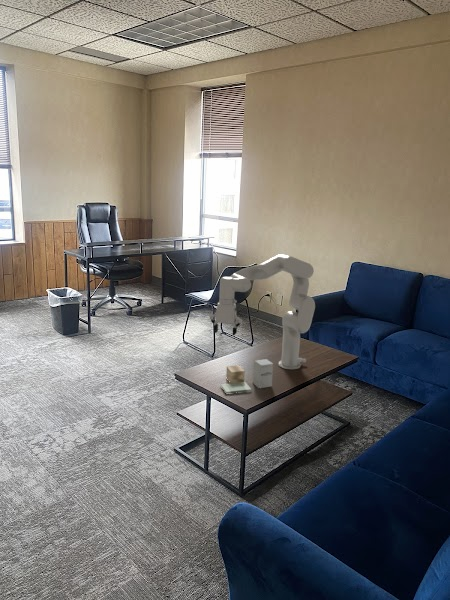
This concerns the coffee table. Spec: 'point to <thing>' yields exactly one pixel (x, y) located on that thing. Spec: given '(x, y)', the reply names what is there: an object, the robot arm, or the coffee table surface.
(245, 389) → the sage board
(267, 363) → the supplement box
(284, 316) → the robot arm
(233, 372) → the beech block
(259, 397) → the coffee table surface
